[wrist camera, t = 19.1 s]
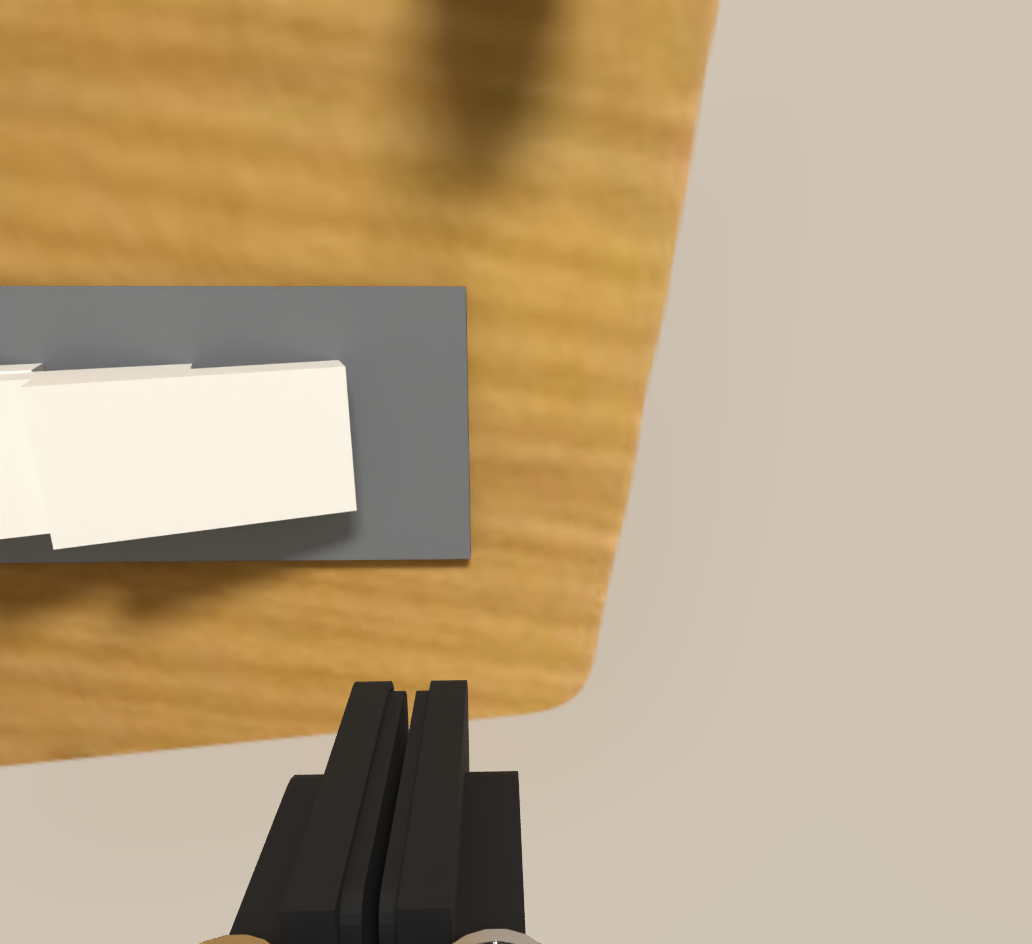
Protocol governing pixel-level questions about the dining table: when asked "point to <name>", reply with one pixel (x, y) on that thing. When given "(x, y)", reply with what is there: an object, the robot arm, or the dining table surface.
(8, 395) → the domino
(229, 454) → the domino
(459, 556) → the mat
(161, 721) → the dining table surface
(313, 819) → the robot arm
